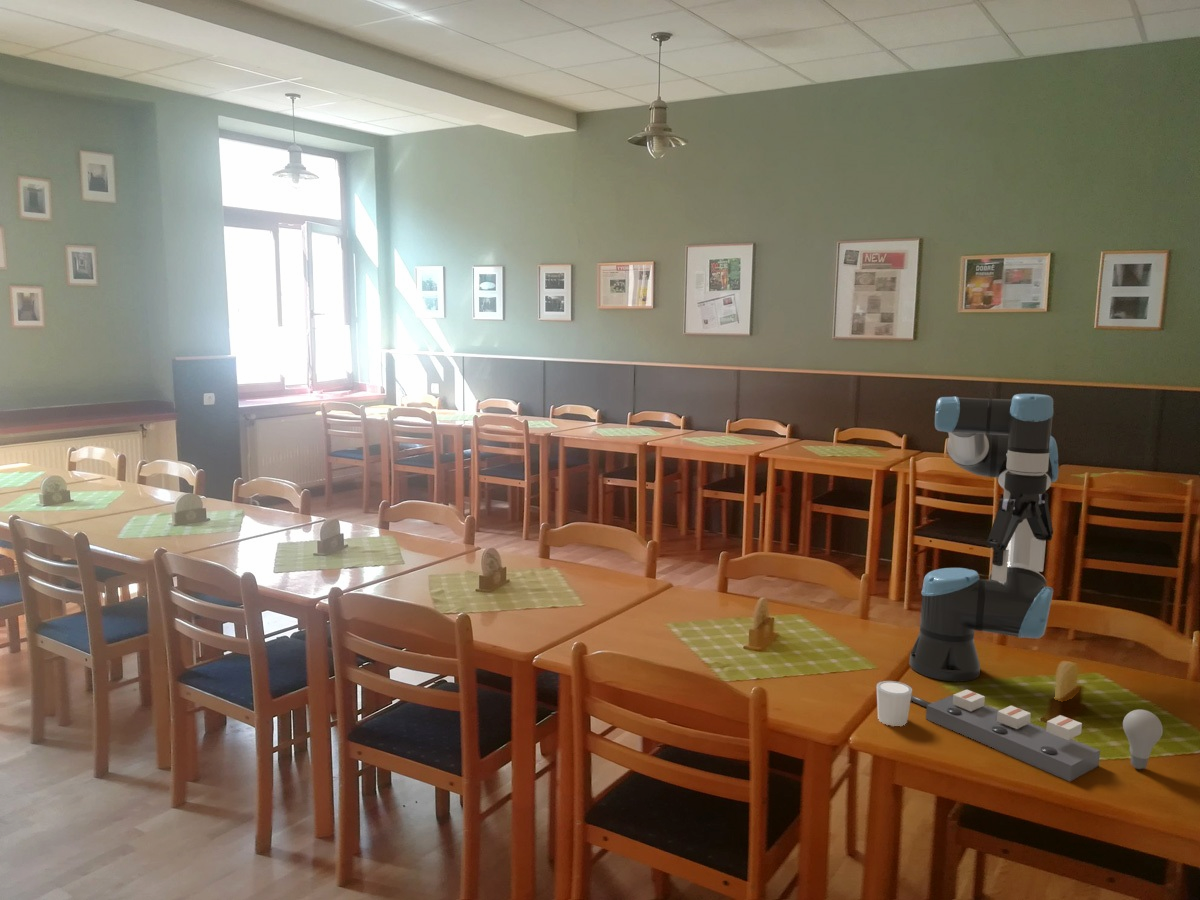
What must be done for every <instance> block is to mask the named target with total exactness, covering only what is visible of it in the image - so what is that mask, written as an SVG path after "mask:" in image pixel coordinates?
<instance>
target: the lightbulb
mask: <svg viewBox="0 0 1200 900" xmlns="http://www.w3.org/2000/svg"><path fill="white" fill-rule="evenodd" d="M1122 727H1123V731H1124V734H1125V736H1126V738H1127V740H1128V746H1129V753H1130V764H1131V766H1133V767H1134V769H1137V770H1142V769H1143V770H1144V769H1146V768H1147V766H1148V761H1149V758H1150V757H1151V753H1152V750H1153V748H1154V746H1155V745H1156V744H1157V743H1158V742H1159V741H1160V740H1161V738H1162V736H1163V731H1164V729H1163V728H1164V727H1163V724H1162V721H1161V720H1160V719H1159V717H1158V716H1157V715H1156V714H1154V712H1153V713H1152V712H1151V711H1149V710H1147V709H1134V710H1132V711H1129V712H1128V713H1127V714H1126V715H1125V716H1124V718H1123V721H1122Z"/></svg>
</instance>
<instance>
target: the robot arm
mask: <svg viewBox="0 0 1200 900" xmlns="http://www.w3.org/2000/svg"><path fill="white" fill-rule="evenodd" d="M935 404H936V405H935V412H934V413H935V414H934V428H935V430H937V431H938V432H944V433H945V432H946V433H948V439H947V441H946V450H947V451H946V452H947V454H948V456H949V458H950V460H951V461H952V462H953V463H954V464H956V466H958V467H960V468H961V469H962V470H964V471H967V473H971V474H973V475H977V476H981V477H986V478H996V479H997V481H998V484H999V486H1000V488H1002V489H1003V498H999V500H998V501H999V502H998V509H997V512H996V514H995V518H994V521H993V523H992V525H991V530H990V533H989V535H988V538H987V539H986V546H987V547H988V548H992V549H993V552H992V553H993V554H992V565H991V572H990V574H989V579H985V578H980V574H979V572H978V571H977V570H974V569H969V568H964V567H944V568H943V567H942V568H938V569H933V570H931V571H929V572H927V573H926V574H925V576H924V578H923V582H922V583H923V584H922V589H921V591H920V592H921V593H920V594H921V609H920V618H919V619H920V620H919V621H920V622H919V631H918V632H919V633H918V635H917V638H916V640H915V643H914V644H913V647H912V649H911V652H910V653H909V654H910V655H909V666H910V668H911V669H912V671H915V672H916V673H917V674H919V675H922V676H924V677H928V678H931V679H935V680H940V681H947V682H969V681H973V680H975V679H977V678H978V677H979V676H980V671H981V664H980V663H981V662H980V659H979V655H978V651H977V648H976V645H975V631H978V632H985V633H992V634H997V635H1004V636H1010V637H1011V636H1012V637H1016V638H1020V639H1023V638H1026V639H1027V638H1028V639H1034V640H1035V639H1036V640H1037V639H1040V638H1042V637H1043V636H1044V635H1045V633H1046V629H1047V623H1048V619H1049V614H1050V609H1051V604H1052V599H1053V595H1054V589H1053V587H1050V586H1047V580H1046V578H1045V576H1044V575H1043V574H1041V573H1043V572H1044V565H1045V557H1046V556H1045V555H1046V545H1047V543H1046V542H1047V541H1052V539H1053V535H1054V528H1053V522H1052V518H1051V513H1050V507H1049V494H1048V493H1047V490H1048V489H1050V487H1051V484H1052V483H1055V482H1057V480H1058V478H1059V466H1060V465H1059V452H1058V451H1059V449H1058V444H1057V442H1056V439H1055V437H1054V436H1052V428H1053V427H1052V425H1053V416H1054V413H1055V411H1054V399H1053V397H1052V396H1051V395H1048V394H1040V393H1018V394H1017V393H1016V394H1014V395H1013V396H1012V398H1011V399H1010V398H1009V399H1006V398H1004V399H1003V398H980V397H979V398H978V397H960V396H959V397H958V396H941V397H939V398H938V399H937V400H936V403H935ZM1040 572H1041V573H1040Z"/></svg>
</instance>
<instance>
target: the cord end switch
mask: <svg viewBox="0 0 1200 900" xmlns="http://www.w3.org/2000/svg"><path fill="white" fill-rule="evenodd" d="M952 695H953V704H954V705H956V706H958V707H961V708H963V709H966V710H968V711H973V710H976V709H978V708H980V707H983V706H984V705H985V699H986V696H985V695H982V694H980V693H977V692H974V691H972V690H969V689H965V690H962V691H959V692H957V693H953V694H952Z"/></svg>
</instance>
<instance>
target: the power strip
mask: <svg viewBox="0 0 1200 900" xmlns="http://www.w3.org/2000/svg"><path fill="white" fill-rule="evenodd" d="M953 695H954V694H952V695H950V696H949V695H948V696H947V697H944V698H942V699H939V700H937V701H933V702H930V701H928V700H925V699H922V698H920V697H918V696H915V695H913V694H912V695H911V701H910V702H912V701H913V703H915V704H918V705H920V706H921V707H922V706H923V707H925V708H926V712H925V720H927V719H928V720H927V721H929V722H930V723H933V722H934V724H936V725H938V726H940V725H941V726H940V727H943V728H945V729H948V730H950V731H952V730H953V731H952V732H954V731H955V732H954V733H956V732H957V734H959V733H960V734H959V735H961V734H962V735H961V736H963V735H964V736H963V737H966V738H968V737H969V738H968V739H970V738H971V740H973V739H974V740H973V741H975V740H976V741H975V742H977V741H978V742H977V743H979V742H981V743H980V744H982V743H983V744H982V745H984V744H985V745H984V746H986V745H988V746H987V747H989V748H991V747H992V748H991V749H993V748H994V749H993V750H996V751H999V752H1001V753H1003V754H1004V755H1007V756H1009V757H1012V758H1014V759H1016V760H1019V761H1021V762H1023V763H1026V764H1028V765H1029V766H1033V767H1034V768H1037V769H1040V770H1042V771H1044V772H1047V773H1049V774H1051V775H1053V776H1056V777H1058V778H1060V779H1063V780H1065V781H1067V782H1069V783H1070V782H1072V781H1074V780H1075V779H1077V778H1079V777H1081V776H1083V775H1084V774H1086V773H1089V772H1090V771H1092V770H1094V769H1095V768H1097V767H1099V766H1100V765H1099V764H1100V755H1101V750H1100V749H1098V748H1095V747H1093V746H1090V745H1087V744H1085V743H1082V742H1080V741H1077V740H1075V739H1074V738H1071V739H1069V740H1066V739H1064V738H1061V737H1059V736H1056V735H1054V734H1051V733H1048V732H1046V728H1044V727H1042V726H1040V725H1037V724H1035V723H1032V722H1030V723H1029V724H1027V725H1025V726H1022V727H1020V728H1018V729H1015V728H1013V727H1010V726H1008V725H1005V724H1003V723H1000V722H998V721H997V714H998V711H999V710H1000V709H997V708H993V707H991V706H989V705H986V704H984V706H983V707H980V708H978V709H976V710H973V711H968V710H966V709H963V708H961V707H958V706H956V705H954V704H953Z"/></svg>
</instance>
